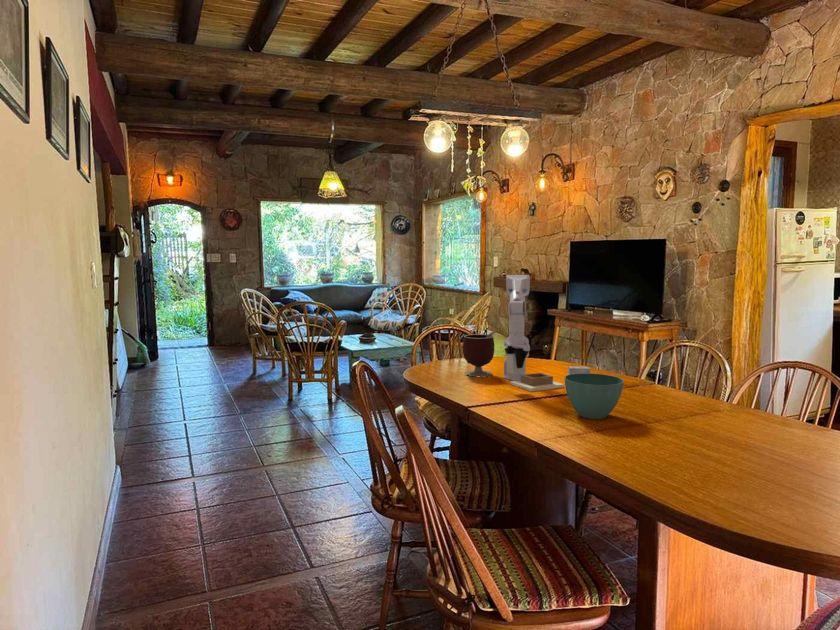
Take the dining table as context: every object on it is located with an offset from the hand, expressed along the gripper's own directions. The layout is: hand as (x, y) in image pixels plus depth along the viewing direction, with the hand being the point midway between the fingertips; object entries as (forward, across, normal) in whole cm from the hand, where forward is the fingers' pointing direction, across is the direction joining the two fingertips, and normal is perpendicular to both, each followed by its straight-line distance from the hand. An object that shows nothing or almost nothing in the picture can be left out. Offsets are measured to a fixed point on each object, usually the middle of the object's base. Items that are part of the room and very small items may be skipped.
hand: (516, 366), depth 220 cm
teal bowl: (+9, +41, +1) cm, 42 cm away
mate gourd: (+10, -33, +4) cm, 35 cm away
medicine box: (+10, +9, +23) cm, 27 cm away
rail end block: (+2, 0, 0) cm, 2 cm away
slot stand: (+9, -3, +12) cm, 16 cm away
